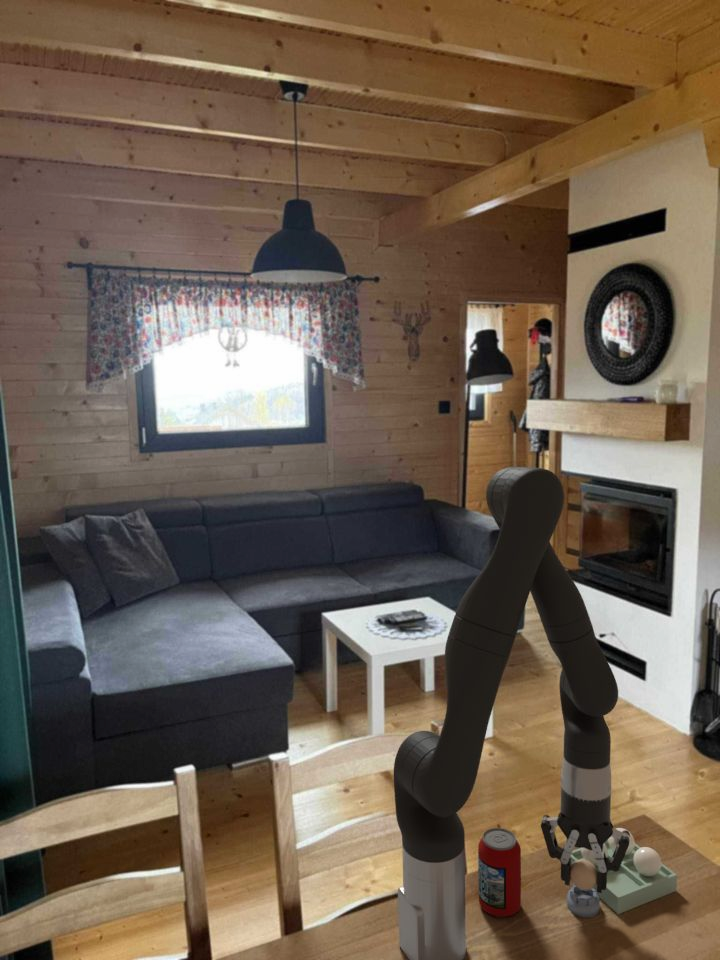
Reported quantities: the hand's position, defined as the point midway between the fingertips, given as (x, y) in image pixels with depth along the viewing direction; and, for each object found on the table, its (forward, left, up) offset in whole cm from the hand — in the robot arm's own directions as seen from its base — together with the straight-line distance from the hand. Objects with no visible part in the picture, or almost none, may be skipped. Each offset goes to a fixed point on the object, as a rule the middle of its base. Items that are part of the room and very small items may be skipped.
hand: (583, 885), depth 118 cm
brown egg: (0, 0, 0) cm, 0 cm away
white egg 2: (+13, +6, -2) cm, 15 cm away
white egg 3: (+13, 0, -2) cm, 14 cm away
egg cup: (0, 0, -4) cm, 4 cm away
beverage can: (-12, +6, -4) cm, 14 cm away
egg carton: (+10, +3, -4) cm, 12 cm away
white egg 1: (+7, +6, -2) cm, 10 cm away
